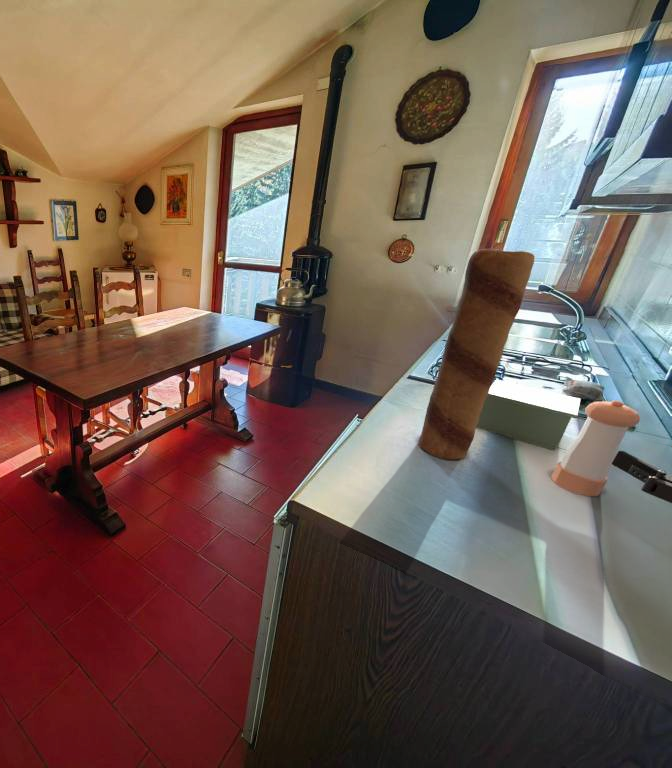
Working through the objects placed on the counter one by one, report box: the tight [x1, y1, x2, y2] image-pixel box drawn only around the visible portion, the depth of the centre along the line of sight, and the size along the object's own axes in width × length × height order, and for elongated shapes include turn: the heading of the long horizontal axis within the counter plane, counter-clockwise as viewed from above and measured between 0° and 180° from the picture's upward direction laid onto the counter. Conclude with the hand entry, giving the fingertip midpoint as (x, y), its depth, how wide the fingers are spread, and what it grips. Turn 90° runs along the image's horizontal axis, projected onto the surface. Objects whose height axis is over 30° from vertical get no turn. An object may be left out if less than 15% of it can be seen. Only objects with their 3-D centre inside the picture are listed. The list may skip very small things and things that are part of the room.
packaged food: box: [562, 380, 605, 403], centre depth 122 cm, size 9×12×5 cm
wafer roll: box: [417, 248, 536, 460], centre depth 84 cm, size 10×11×45 cm
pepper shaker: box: [550, 400, 641, 497], centre depth 77 cm, size 7×7×19 cm
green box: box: [476, 396, 572, 452], centre depth 101 cm, size 16×14×9 cm
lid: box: [487, 379, 582, 419], centre depth 98 cm, size 17×14×1 cm
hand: (658, 459), depth 67 cm, fingers open, 13 cm apart
